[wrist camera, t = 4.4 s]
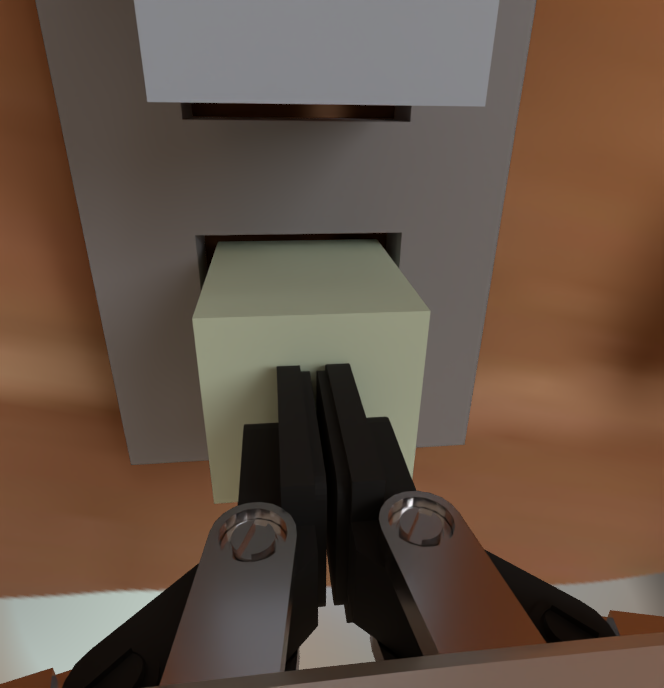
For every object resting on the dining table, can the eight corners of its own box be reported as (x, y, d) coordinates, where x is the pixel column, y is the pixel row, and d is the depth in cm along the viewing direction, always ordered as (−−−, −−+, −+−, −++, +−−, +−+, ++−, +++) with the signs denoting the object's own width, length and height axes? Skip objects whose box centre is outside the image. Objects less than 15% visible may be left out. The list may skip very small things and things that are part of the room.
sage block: (218, 241, 16) (192, 318, 10) (376, 238, 16) (430, 310, 11) (230, 380, 18) (214, 503, 12) (369, 374, 18) (411, 489, 13)
